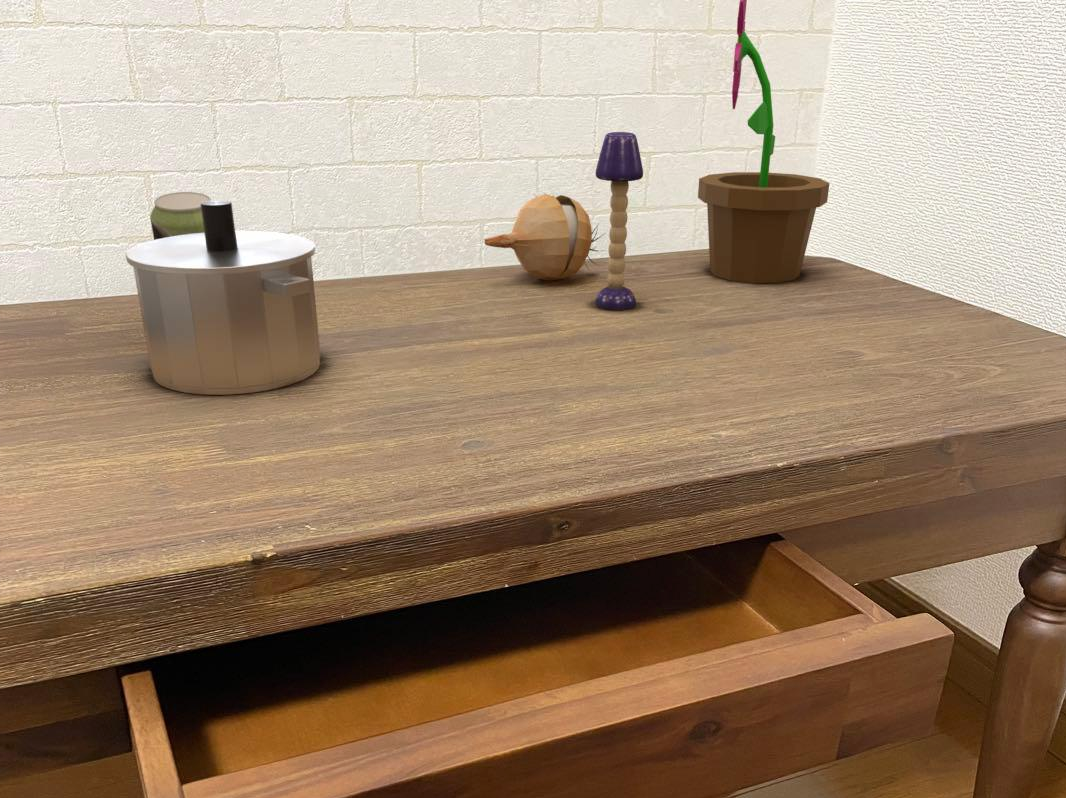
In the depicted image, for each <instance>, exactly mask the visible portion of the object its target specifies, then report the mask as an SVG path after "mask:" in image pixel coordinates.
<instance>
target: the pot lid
mask: <svg viewBox="0 0 1066 798" xmlns="http://www.w3.org/2000/svg"><path fill="white" fill-rule="evenodd" d="M201 211H202V219H203V226H204V233H195V234H186V235H178V236H172V237H166V238H161V239H156V240H154V239H153V240H148V241H144V242H142V243H138V244H137V245H134V246H133V247H130V248H129V249H128V250H127V251H126V252H125V258H126V259H125V260H126V262H127V264H129V265H130V266H131V267H135V268H138V269H142V270H146V271H151V272H158V273H167V274H183V275H216V274H233V273H245V272H254V271H261V270H268V269H274V268H279V267H284V266H288V265H292V264H295V263H298V262H301V261H304V260H306V259H308V258H310V257H311V258H312V257H313V256H314V255H315V253H316V244H315V242H313V240H311V239H309V238H306V237H304V236H300V235H297V234H291V233H283V232H275V231H263V230H262V231H258V230H236V223H235V222H236V221H235V216H234V207H233V202H232V201H230V200H221V199H220V200H211V201H206V202H202V203H201Z"/></svg>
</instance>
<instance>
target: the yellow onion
mask: <svg viewBox="0 0 1066 798" xmlns="http://www.w3.org/2000/svg"><path fill="white" fill-rule="evenodd" d="M533 196H535V197H533V198H531V199H529V200H528V201H527V202H526V203H525V204H524V205H523V206H521V208H520V209H519V211H518V214H517V215H516V218H515V220H514V223H513V227H512V230H511V232H509V233H503V234H499V235H495V236H492V237H488V238H484V239H483V241H484V242H483V243H484V245H485V246H488V247H493V248H502V249H512V250H513V251H514V254H515V256H516V259H517V260H518V262H519V263H520V265H521V267H522V269H523V270H524V272H525V271H526V272H527V273H528V275H530V276H532V277H534V278H536V279H539V280H544V281H548V282H553V281H557V280H558V281H559V280H564V279H567V278H569V277H571V276H573V275H574V274H576V273H577V272H578V271H579V270H580V269H581V268H582V267H583V265H585V266H586V268H588V266H587V264H586V260H587V258H588V259H589V261H590V262H591V263H593V264H594V265H596V266H598V264H597V263H595V262H594V261H593V260H592V259H591V258H590V257H589V253H590V251H592V252H598V250H596V249H595V247H597V246H598V245H597V244H596V245H595V247H593V248H591V246H592V243H594V242H596V241H597V240H599V239H600V238H602V236H604V235H605V233H603V234H601V235H600V236H599V237H596V236H597V234H598V231H596V230H598V228H599V224H600V223H598V224H597V225H596V227H595V228H594V229H592V224H591V219H590V215H589V214H588V213H587V212H586V210H585V209H584V207H583V206H582V204H580V203H579V201H577V200H575V199H574V198H571V197H569V196H566V195H562V194H560V195H558V196H555V195H554V193H553V194H552V193H551V194H547V193H544V194H541V195H538V196H537V195H535V194H534V195H533ZM592 230H593V231H592ZM595 231H596V232H595ZM594 232H595V234H594ZM593 234H594V236H593ZM604 251H606V249H604V250H602V252H604ZM588 271H590V269H588Z"/></svg>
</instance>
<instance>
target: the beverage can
mask: <svg viewBox="0 0 1066 798" xmlns="http://www.w3.org/2000/svg"><path fill="white" fill-rule="evenodd" d="M206 201H212V199H211V198H210V196H208V195H206V194H204V193H201V192H194V191H181V192H180V191H179V192H170V193H165V194H163V195H160V196H158V197H156V198H155V199H154V202H153V203H154V207H153V209H152V210H151V213H150V215H149V216H150V217H149V218H150V219H149V220H150V224H151V225H150V226H151V230H152V236H153V240H156V239H161V238H166V237H172V236H178V235H186V234H195V233H204V226H203V219H202V211H201V203H202V202H206Z"/></svg>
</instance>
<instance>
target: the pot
mask: <svg viewBox="0 0 1066 798" xmlns="http://www.w3.org/2000/svg"><path fill="white" fill-rule="evenodd" d="M312 261H313V260H312V256H311V257H310V258H308V259H306V260H304V261H301V262H298V263H295V264H292V265H288V266H284V267H279V268H274V269H268V270H261V271H254V272H245V273H233V274H216V275H183V274H167V273H158V272H151V271H146V270H142V269H138V268H135V267H133V266H132V267H133V272H134V273H133V275H134V278H135V279H134V280H135V285H136V291H137V297H138V302H139V308H140V313H141V320H142V325H143V326H142V327H143V331H144V337H145V345H146V349H147V355H148V361H149V366H150V371H152V376H153V380H154V381H155V383H157V384H158V385H160V386H161V387H162V388H163V387H164V388H166V389H169V390H172V391H174V392H175V391H176V392H180V393H186V394H192V395H193V394H194V395H205V396H206V395H208V396H219V395H220V396H224V395H225V396H226V395H227V396H228V395H229V396H230V395H243V394H252V393H258V392H260V393H261V392H266V391H271V390H276V389H280V388H283V387H287V386H290V385H293V384H296V383H299V382H301V381H304V380H306V379H308V378H309V377H311V376H313V375H314V374H315V373H316V372H317V371H318V370H319V369H320V366H321V362H320V361H321V360H320V359H321V356H322V355H321V345H320V335H319V324H318V314H317V313H318V312H317V303H316V292H315V283H314V281H315V280H314V269H313V262H312Z"/></svg>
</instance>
